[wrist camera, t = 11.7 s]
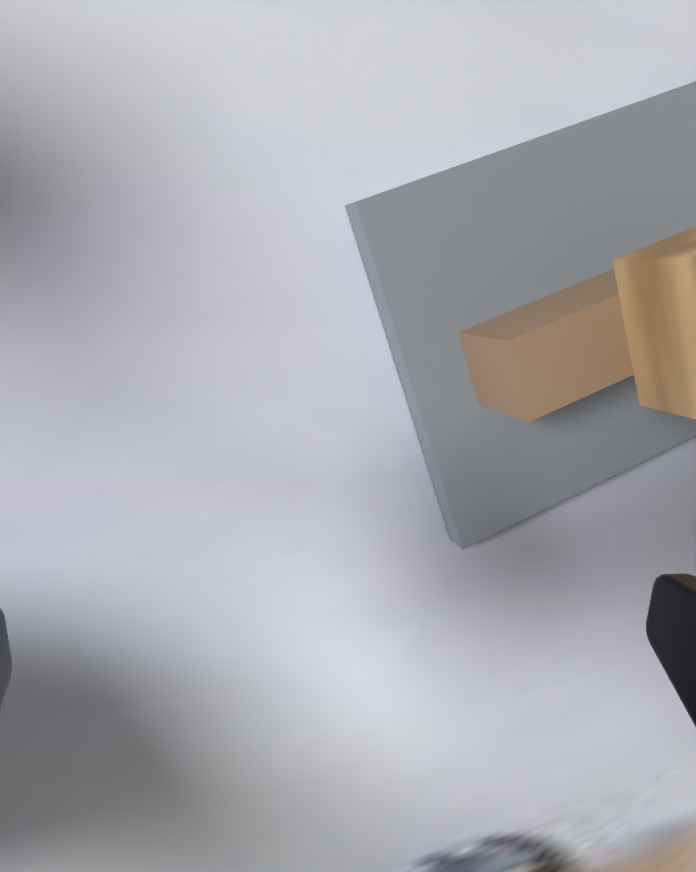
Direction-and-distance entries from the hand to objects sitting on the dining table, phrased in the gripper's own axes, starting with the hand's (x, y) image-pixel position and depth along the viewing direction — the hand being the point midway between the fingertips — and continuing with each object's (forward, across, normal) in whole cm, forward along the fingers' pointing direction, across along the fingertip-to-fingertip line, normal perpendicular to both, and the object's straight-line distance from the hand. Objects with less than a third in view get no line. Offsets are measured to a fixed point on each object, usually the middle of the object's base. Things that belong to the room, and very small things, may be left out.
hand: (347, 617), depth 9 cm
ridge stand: (+15, -11, -3) cm, 18 cm away
